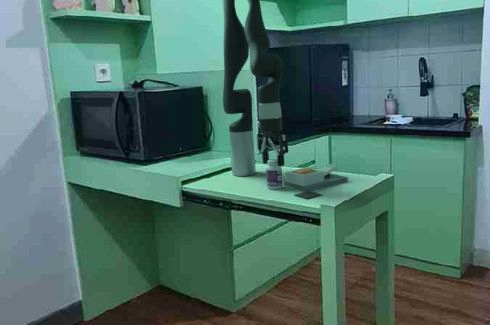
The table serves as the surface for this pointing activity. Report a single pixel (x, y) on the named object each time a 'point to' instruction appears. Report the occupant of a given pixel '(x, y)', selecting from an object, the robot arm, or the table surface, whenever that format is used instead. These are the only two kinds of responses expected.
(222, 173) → the table surface
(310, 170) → the plunger
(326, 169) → the rocker
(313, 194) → the pad
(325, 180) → the panel
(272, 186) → the pill bottle
